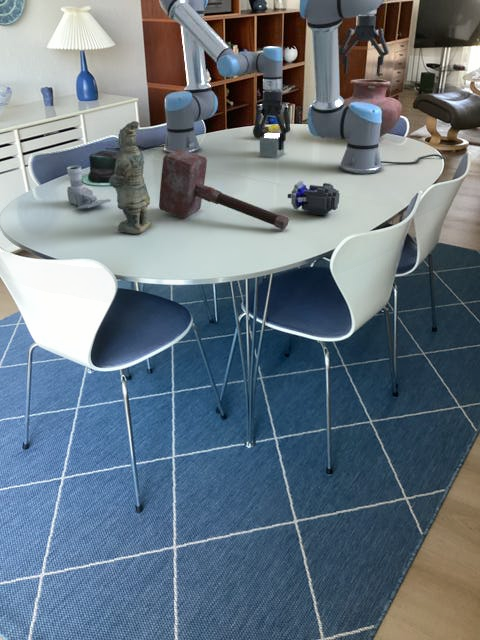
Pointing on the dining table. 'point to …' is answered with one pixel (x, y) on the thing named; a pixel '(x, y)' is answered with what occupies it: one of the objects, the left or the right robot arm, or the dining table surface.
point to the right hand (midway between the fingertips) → (361, 73)
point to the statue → (131, 182)
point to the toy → (315, 198)
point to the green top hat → (101, 168)
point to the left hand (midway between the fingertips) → (272, 148)
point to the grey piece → (80, 190)
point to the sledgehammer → (200, 190)
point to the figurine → (266, 129)
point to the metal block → (270, 145)
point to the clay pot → (377, 101)
